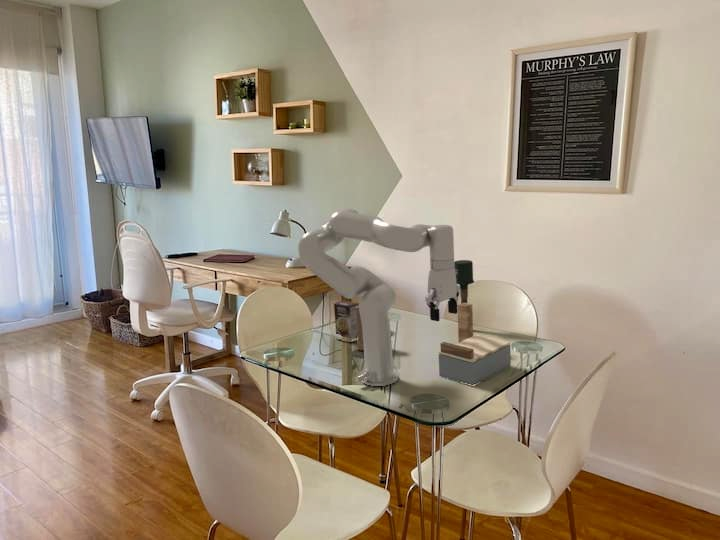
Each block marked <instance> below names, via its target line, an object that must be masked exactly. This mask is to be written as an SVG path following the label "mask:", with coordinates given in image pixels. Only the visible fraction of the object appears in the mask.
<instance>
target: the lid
mask: <svg viewBox="0 0 720 540" xmlns="http://www.w3.org/2000/svg"><path fill="white" fill-rule="evenodd" d="M508 345H510V346H511V342H510V341H506V340H503V339H498V338H493V337H489V336H486V335H485V336H484V335H480V334H475V335H473V336H472V337H470V338H468V339H466V340H463V341H461V342H459V341H458V342H457V343H451V342H450V343H449V342H447V341H446V342H445V341H442V342H440V345H439V346H440V350H438V355H439V354H442V355H446V356H450V357H454V358H457V359H461V360H465V361H468V362H472V363H473V362H475V361H477V360H479V359H481V358H483V357H485V356H487V355H489V354H491V353H493V352H496V351H498V350H500V349H502V348H504V347H506V346H508Z"/></svg>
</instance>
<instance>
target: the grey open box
mask: <svg viewBox="0 0 720 540" xmlns="http://www.w3.org/2000/svg"><path fill="white" fill-rule="evenodd" d="M511 357H512V356H511V344H510V345H508V346H506V347H504V348H502V349H500V350H498V351H496V352H493V353H491V354H489V355H487V356H485V357H483V358H481V359H479V360H477V361H475V362H473V363H472V362H468V361H465V360H461V359H457V358H454V357H450V356H446V355H442V354H439V353H438V370H439V371H438V373H439V377H440V376H441V378H443V377H444V378H443V379H446V378H448V379H447V380H450V379H451V380H450V381H453V380H454V381H453V382H456V381H458V382H457V383H459V382H463V383H467V384H471V385H474V384H477V383H479V382H481V381H483V380H485V379H487V378H489V379H490V377H491V378H493V377H494V376H497V375H498V374H500V373H502V372H503V371H506V370H507V369H510V368H511V366H512V365H511ZM492 376H493V377H492ZM487 380H488V379H487ZM485 381H486V380H485ZM483 382H484V381H483ZM463 383H462V384H463ZM481 383H482V382H481Z"/></svg>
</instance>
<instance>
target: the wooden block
mask: <svg viewBox="0 0 720 540" xmlns="http://www.w3.org/2000/svg"><path fill="white" fill-rule="evenodd" d="M356 321H357V335H358V341H356V342H357V343H356V345H357V347H356V348H357V351H358V350H364V343H363V330H362V322H361V317H360V312H359V306H356Z"/></svg>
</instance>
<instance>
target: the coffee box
mask: <svg viewBox="0 0 720 540" xmlns="http://www.w3.org/2000/svg"><path fill="white" fill-rule="evenodd" d="M359 304H360V302H355V301H354V302H353V301H347V300H342V301H338V302H335V303H334V304H333V307H334V308H333V309H334V321H335V322H334V323H335V325H334V326H335V335H336V334H339V335H341V336H343V337H346V338H349V339H351V340H352V339H354V338H357V337H358V335H357V321H356V306H359Z"/></svg>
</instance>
